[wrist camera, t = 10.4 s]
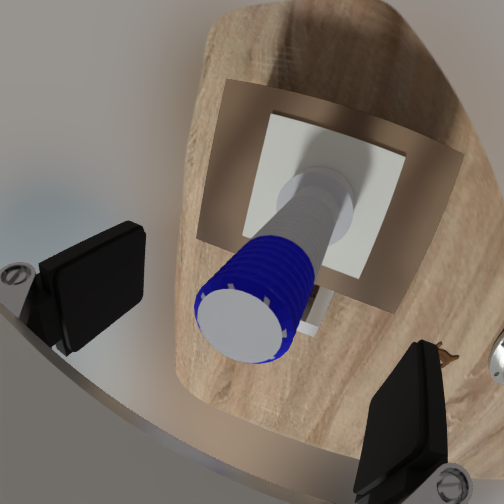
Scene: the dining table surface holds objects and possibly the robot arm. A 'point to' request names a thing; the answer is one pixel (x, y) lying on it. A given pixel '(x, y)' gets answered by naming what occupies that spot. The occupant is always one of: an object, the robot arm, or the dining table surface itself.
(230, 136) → the wooden box
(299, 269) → the bolt
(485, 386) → the dining table surface
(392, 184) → the lid mat
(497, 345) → the robot arm
